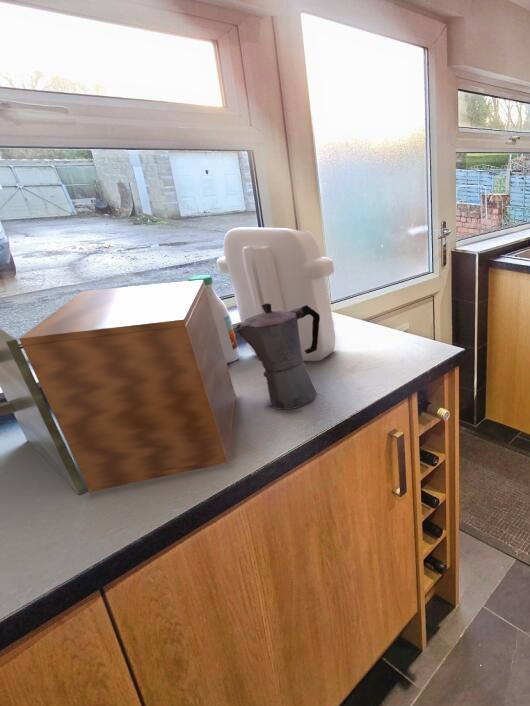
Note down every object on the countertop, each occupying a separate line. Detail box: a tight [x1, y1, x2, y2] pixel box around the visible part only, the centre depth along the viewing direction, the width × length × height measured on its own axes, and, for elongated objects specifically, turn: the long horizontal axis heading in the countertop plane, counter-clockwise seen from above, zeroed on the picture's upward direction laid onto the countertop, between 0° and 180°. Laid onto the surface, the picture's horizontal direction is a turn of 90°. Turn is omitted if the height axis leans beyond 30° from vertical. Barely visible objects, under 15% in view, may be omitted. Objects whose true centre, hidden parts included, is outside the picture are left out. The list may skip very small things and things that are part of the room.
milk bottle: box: [187, 274, 241, 364], centre depth 115 cm, size 8×8×20 cm
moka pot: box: [233, 303, 320, 410], centre depth 95 cm, size 10×15×20 cm, turn 137°
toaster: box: [216, 226, 336, 362], centre depth 115 cm, size 27×11×30 cm, turn 77°
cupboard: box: [18, 280, 237, 493], centre depth 81 cm, size 18×26×24 cm
